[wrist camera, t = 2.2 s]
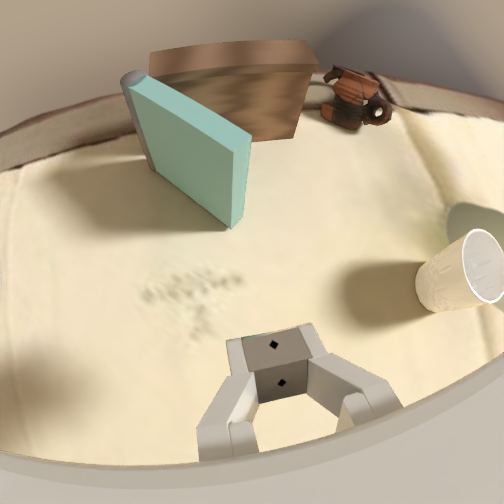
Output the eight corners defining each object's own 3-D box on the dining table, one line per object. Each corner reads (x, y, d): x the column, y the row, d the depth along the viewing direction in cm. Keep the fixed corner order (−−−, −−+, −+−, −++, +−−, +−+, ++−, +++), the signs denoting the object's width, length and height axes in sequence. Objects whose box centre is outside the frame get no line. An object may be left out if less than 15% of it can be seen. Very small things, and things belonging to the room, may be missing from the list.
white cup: (400, 288, 33) (451, 265, 24) (428, 244, 35) (475, 214, 26) (438, 330, 32) (493, 319, 22) (463, 284, 34) (514, 264, 25)
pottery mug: (300, 108, 41) (316, 58, 36) (331, 108, 47) (345, 66, 42) (371, 145, 36) (393, 90, 31) (391, 141, 42) (410, 96, 37)
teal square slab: (145, 164, 35) (115, 81, 22) (159, 152, 36) (135, 67, 23) (229, 230, 33) (231, 154, 20) (243, 215, 34) (253, 134, 21)
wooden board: (168, 156, 36) (148, 78, 24) (166, 129, 38) (150, 52, 25) (295, 139, 38) (319, 64, 26) (286, 115, 40) (305, 40, 27)
